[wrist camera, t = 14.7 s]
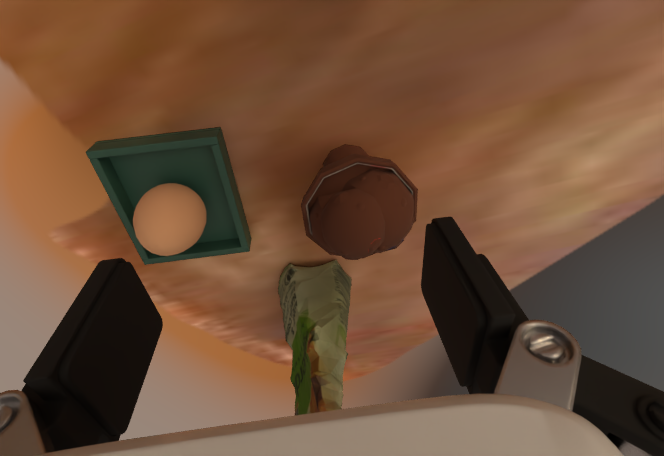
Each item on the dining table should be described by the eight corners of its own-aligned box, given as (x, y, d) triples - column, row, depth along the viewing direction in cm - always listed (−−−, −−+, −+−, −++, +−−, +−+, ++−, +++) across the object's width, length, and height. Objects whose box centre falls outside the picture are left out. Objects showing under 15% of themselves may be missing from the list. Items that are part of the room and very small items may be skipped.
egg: (209, 226, 43) (194, 277, 36) (148, 217, 42) (119, 268, 34) (214, 176, 40) (199, 221, 32) (148, 164, 38) (116, 208, 31)
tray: (96, 141, 37) (85, 152, 35) (220, 126, 37) (216, 136, 35) (151, 251, 45) (144, 265, 43) (251, 238, 46) (249, 251, 44)
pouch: (305, 319, 56) (314, 520, 35) (253, 275, 49) (229, 488, 29) (367, 286, 53) (415, 484, 33) (320, 234, 46) (344, 441, 26)
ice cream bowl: (307, 214, 44) (314, 307, 32) (292, 126, 38) (295, 201, 26) (393, 202, 45) (431, 290, 32) (393, 112, 38) (442, 181, 26)
